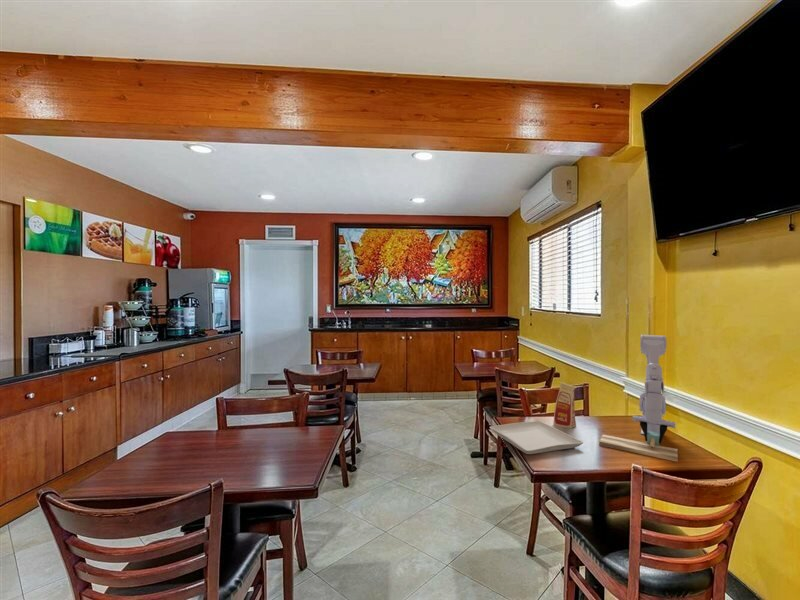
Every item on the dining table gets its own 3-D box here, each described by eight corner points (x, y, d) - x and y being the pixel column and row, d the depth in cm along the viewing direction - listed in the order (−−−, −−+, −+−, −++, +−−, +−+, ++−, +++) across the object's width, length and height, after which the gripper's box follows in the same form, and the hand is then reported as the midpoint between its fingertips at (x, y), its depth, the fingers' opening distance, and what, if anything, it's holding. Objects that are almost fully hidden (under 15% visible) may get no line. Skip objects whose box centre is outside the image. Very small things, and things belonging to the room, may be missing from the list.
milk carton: (553, 425, 180) (553, 383, 180) (557, 419, 187) (558, 379, 187) (574, 429, 175) (574, 385, 174) (577, 423, 182) (578, 382, 182)
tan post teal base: (647, 442, 159) (647, 430, 159) (659, 444, 157) (659, 432, 157) (646, 452, 149) (646, 439, 149) (658, 454, 147) (658, 441, 147)
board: (602, 437, 164) (602, 434, 164) (677, 452, 149) (677, 448, 149) (599, 445, 156) (599, 441, 156) (677, 461, 141) (677, 457, 141)
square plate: (488, 434, 168) (488, 425, 168) (539, 428, 176) (539, 419, 176) (526, 459, 142) (526, 449, 142) (584, 450, 151) (584, 441, 151)
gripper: (632, 407, 157) (631, 440, 157) (675, 414, 148) (675, 449, 148) (633, 404, 162) (633, 435, 162) (675, 410, 154) (674, 443, 154)
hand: (653, 441), depth 156 cm, fingers closed on tan post teal base, 4 cm apart
